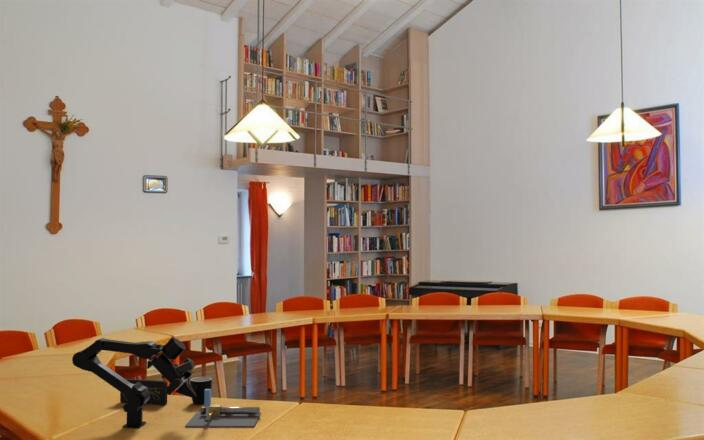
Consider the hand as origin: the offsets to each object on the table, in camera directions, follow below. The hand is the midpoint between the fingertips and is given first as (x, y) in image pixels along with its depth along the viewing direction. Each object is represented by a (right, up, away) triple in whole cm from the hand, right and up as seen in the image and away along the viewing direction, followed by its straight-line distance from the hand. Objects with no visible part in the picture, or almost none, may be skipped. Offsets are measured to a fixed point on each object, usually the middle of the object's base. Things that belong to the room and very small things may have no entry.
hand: (195, 397), depth 235 cm
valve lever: (+5, -8, 0) cm, 9 cm away
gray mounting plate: (+10, -11, +7) cm, 16 cm away
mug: (-6, -12, +30) cm, 33 cm away
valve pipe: (+11, -10, +7) cm, 17 cm away
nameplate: (-30, -12, +31) cm, 44 cm away
